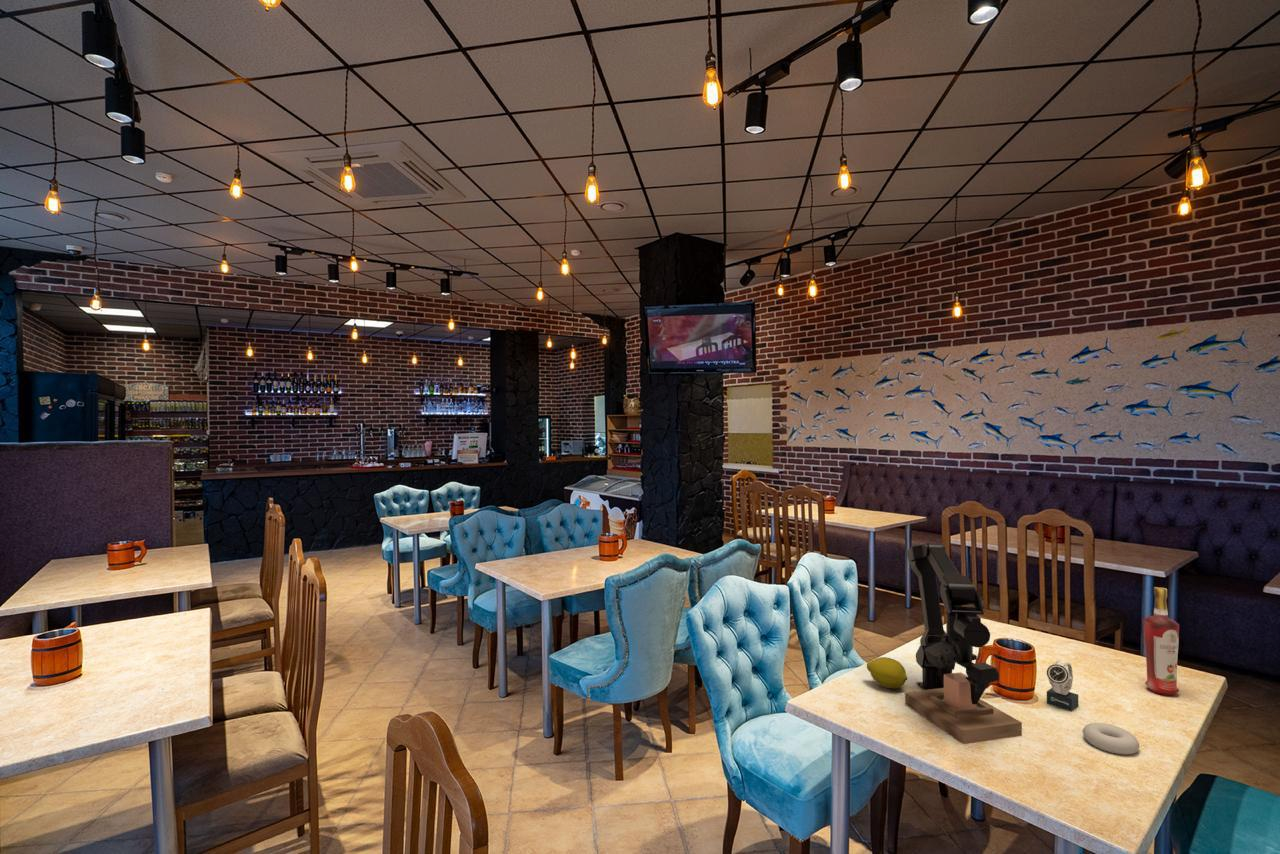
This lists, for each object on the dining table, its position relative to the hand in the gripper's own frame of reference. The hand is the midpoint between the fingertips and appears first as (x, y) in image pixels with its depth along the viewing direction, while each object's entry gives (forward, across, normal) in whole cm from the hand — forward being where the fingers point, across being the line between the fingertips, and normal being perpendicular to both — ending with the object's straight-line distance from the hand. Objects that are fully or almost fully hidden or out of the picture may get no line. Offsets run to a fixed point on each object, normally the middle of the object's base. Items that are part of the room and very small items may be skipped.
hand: (959, 695), depth 144 cm
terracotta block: (+2, 0, 0) cm, 2 cm away
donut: (+6, +18, +24) cm, 31 cm away
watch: (+6, 0, +31) cm, 32 cm away
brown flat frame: (+6, 0, 0) cm, 6 cm away
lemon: (+6, -20, -6) cm, 22 cm away
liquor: (+6, 0, +64) cm, 64 cm away
